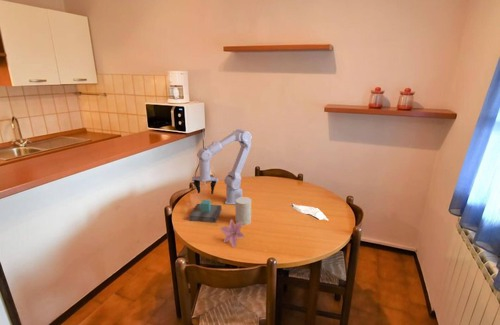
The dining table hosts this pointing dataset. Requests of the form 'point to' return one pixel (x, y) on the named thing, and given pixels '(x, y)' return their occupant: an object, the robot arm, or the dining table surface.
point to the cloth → (310, 211)
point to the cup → (243, 210)
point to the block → (205, 205)
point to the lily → (232, 232)
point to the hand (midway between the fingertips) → (205, 193)
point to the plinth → (205, 214)
